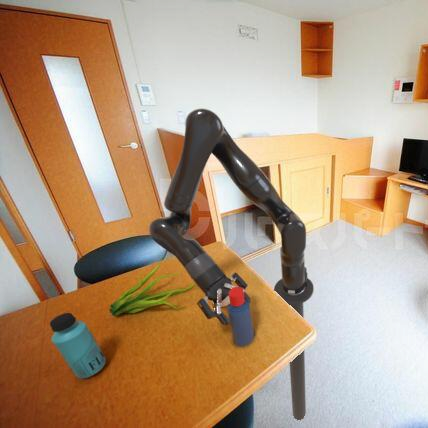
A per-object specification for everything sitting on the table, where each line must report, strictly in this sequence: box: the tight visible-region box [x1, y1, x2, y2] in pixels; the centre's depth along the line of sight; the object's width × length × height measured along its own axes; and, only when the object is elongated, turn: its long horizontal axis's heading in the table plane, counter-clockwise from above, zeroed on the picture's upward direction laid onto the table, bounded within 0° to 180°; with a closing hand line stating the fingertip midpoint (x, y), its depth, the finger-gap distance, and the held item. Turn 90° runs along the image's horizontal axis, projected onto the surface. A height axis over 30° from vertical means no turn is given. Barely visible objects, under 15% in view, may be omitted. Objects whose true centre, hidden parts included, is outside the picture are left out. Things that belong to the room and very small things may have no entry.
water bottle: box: [227, 299, 255, 347], centre depth 71 cm, size 6×6×18 cm
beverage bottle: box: [49, 312, 107, 379], centre depth 61 cm, size 6×7×20 cm
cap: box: [229, 286, 245, 307], centre depth 68 cm, size 4×4×4 cm
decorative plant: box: [108, 255, 197, 317], centre depth 86 cm, size 18×30×15 cm, turn 94°
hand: (239, 313), depth 71 cm, fingers open, 8 cm apart
